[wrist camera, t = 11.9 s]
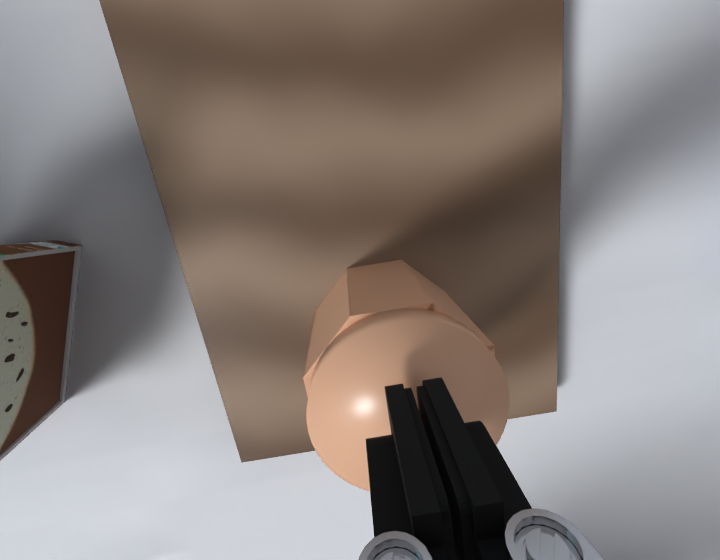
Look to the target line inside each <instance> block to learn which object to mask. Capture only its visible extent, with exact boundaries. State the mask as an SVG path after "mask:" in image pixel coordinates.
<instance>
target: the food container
mask: <svg viewBox="0 0 720 560" xmlns="http://www.w3.org/2000/svg"><path fill="white" fill-rule="evenodd" d="M81 250H82V245H77V244H72V243H67V242H62V241H41V242H24V243H13V244H2V245H0V460H2V459H3V458H4V457H5V456H6V455H7V454H8V453H9V452H10V451H11V450H13V449H14V448H15V447H16V446H17V445H18V444H19V443H20V442H21V441H22V440H24V439H25V438H26V437H27V436H28V435H29V434H30V433H31V432H32V431H33V430H34V429H36V428H37V427H38V426H39V425H40V424H41V423H42V422H43V421H44V420H45V419H47V418H48V417H49V416H50V415H51V414H52V413H53V412H54V411H55V410H56V409H58V408H59V407H60V406H61V405H62V404H63V403H64V402H65V397H66V387H67V378H68V369H69V360H70V351H71V342H72V333H73V323H74V314H75V305H76V296H77V287H78V278H79V269H80V259H81Z"/></svg>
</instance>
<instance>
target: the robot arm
mask: <svg viewBox="0 0 720 560" xmlns="http://www.w3.org/2000/svg"><path fill="white" fill-rule="evenodd" d="M422 385H423V386H417V387H416V390H417V399H418V407H419V410H418V407H417V404H416V401H415V398H414V395H413V392H412V389H411V387H410V388H404V385H403V384H396V385H390V386H385V394H386V401H387V408H388V415H389V422H390V428H391V435H386V436H380V437H373V438H367V439H366V450H367V461H368V472H369V483H370V494H371V505H372V516H373V526H374V537H375V538H373V539H372V540H371V541H370V542H369V543H368V544H367V545H366V546H365V548H364V549H363V551H362V553H361V555H360V556H359V560H604V559H603V558H602V557H601V556H600V555H599V553H598V552H597V551H596V550H595V549H594V547H593V546H592V545H591V544H590V543H589V542H588V540H587V539H586V538H585V537H584V536H583V534H582V533H581V532H580V531H579V530H578V529H577V528H576V527H575V526H574V525H572V524H571V523H570V522H569V521H567V520H566V519H564V518H562V517H561V516H559V515H557V514H555V513H552V512H549V511H547V510H541V509H532V508H531V506H530V504H529V502H528V501H527V499H526V497H525V495H524V494H523V492H522V490H521V488H520V487H519V485H518V483H517V481H516V480H515V478H514V476H513V474H512V473H511V471H510V469H509V467H508V466H507V464H506V462H505V460H504V459H503V457H502V455H501V453H500V452H499V450H498V448H497V446H496V445H495V443H494V441H493V439H492V438H491V436H490V434H489V432H488V431H487V429H486V427H485V426H484V424H483V423H482V422H481V421H480V420H479V421H473V422H467V423H464V421H463V419H462V417H461V415H460V413H459V411H458V409H457V407H456V405H455V403H454V401H453V399H452V397H451V395H450V393H449V391H448V389H447V387H446V385H445V383H444V381H443V379H442V378H441V377H440V378H434V379H428V380H423V381H422Z"/></svg>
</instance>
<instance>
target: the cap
mask: <svg viewBox="0 0 720 560" xmlns="http://www.w3.org/2000/svg"><path fill="white" fill-rule="evenodd" d="M494 347H495V346H494V344H493V343H492V342H491V341H490V340H489V339H488V338H487V337H486V336H485V335H484V333H483V332H482V331H481V330H480V329H479V328H478V327H477V326H476V325H475V324H474V323H473V322H472V320H471V319H470V318H469V317H468V316H467V315H466V314H465V313H464V312H463V311H462V310H461V308H460V307H459V306H458V305H457V304H456V303H455V302H454V301H453V300H452V299H451V298H450V296H449V295H448V294H447V293H446V292H445V291H444V290H442V289H441V288H440V287H438V286H437V285H436V284H434V283H433V282H431V281H430V280H429V279H427V278H426V277H425V276H423V275H422V274H420V273H419V272H418V271H416V270H415V269H414V268H412V267H411V266H409V265H408V264H407V263H405V262H404V261H403V260H396V261H390V262H384V263H378V264H371V265H365V266H359V267H353V268H347V269H346V270H345V272H344V273H343V274H342V276H341V277H340V279H339V280H338V281H337V283H336V284H335V285H334V287H333V288H332V289H331V291H330V292H329V293H328V295H327V296H326V297H325V299H324V300H323V302H322V303H321V304H320V306H319V307H318V308H317V310H316V311H315V316H314V321H313V326H312V332H311V337H310V342H309V348H308V353H307V358H306V363H305V369H304V374H303V379H304V384H305V388H306V392H307V397H308V402H307V409H306V421H307V427H308V433H309V436H310V439H311V442H312V444H313V446H314V448H315V450H316V452H317V454H318V455H319V457H320V458H321V460H322V461H323V462H324V463H325V464H326V465H327V467H328V468H329V469H330V470H331V471H333V472H334V473H335V474H336V475H338V476H339V477H340V478H342V479H343V480H345V481H347V482H348V483H350V484H352V485H354V486H356V487H359V488H361V489H364V490H367V491H370V483H369V472H368V461H367V450H366V439H367V438H373V437H380V436H386V435H391V428H390V422H389V415H388V408H387V401H386V394H385V386H390V385H396V384H403V385H404V388H410V387H411V389H412V392H413V395H414V398H415V401H416V404H417V407H418V399H417V390H416V387H417V386H423V385H422V381H423V380H428V379H434V378H440V377H441V378H442V379H443V381H444V383H445V385H446V387H447V389H448V391H449V393H450V395H451V397H452V399H453V401H454V403H455V405H456V407H457V409H458V411H459V413H460V415H461V417H462V419H463V421H464V423H467V422H473V421H479V420H480V421H481V422H482V423H483V424H484V426H485V427H486V429H487V431H488V432H489V434H490V436H491V438H492V439H493V441H494V443H495V445H497V443H498V441H499V439H500V437H501V435H502V433H503V431H504V428H505V425H506V422H507V419H508V413H509V402H510V397H509V388H508V384H507V380H506V377H505V374H504V372H503V370H502V367H501V365H500V364H499V362H498V361H497V359H496V358H495V348H494ZM418 410H419V407H418Z"/></svg>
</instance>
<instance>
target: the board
mask: <svg viewBox="0 0 720 560" xmlns="http://www.w3.org/2000/svg"><path fill="white" fill-rule="evenodd" d="M99 1H100V4H101V7H102V10H103V14H104V17H105V20H106V23H107V27H108V30H109V33H110V36H111V40H112V43H113V46H114V49H115V53H116V56H117V59H118V62H119V66H120V69H121V72H122V75H123V79H124V82H125V85H126V88H127V91H128V95H129V98H130V101H131V104H132V108H133V111H134V114H135V117H136V121H137V124H138V127H139V130H140V134H141V137H142V140H143V143H144V147H145V150H146V153H147V156H148V160H149V163H150V166H151V169H152V173H153V176H154V179H155V182H156V186H157V189H158V192H159V195H160V199H161V202H162V205H163V208H164V212H165V215H166V218H167V221H168V225H169V228H170V231H171V234H172V238H173V241H174V244H175V247H176V251H177V254H178V257H179V260H180V264H181V267H182V270H183V273H184V277H185V280H186V283H187V286H188V290H189V293H190V296H191V299H192V303H193V306H194V309H195V312H196V316H197V319H198V322H199V325H200V329H201V332H202V335H203V338H204V342H205V345H206V348H207V351H208V355H209V358H210V361H211V364H212V368H213V371H214V374H215V377H216V381H217V384H218V387H219V390H220V394H221V397H222V400H223V403H224V407H225V410H226V413H227V416H228V420H229V423H230V426H231V429H232V433H233V436H234V439H235V442H236V445H237V449H238V452H239V455H240V458H241V462H247V461H254V460H260V459H266V458H272V457H278V456H284V455H290V454H297V453H303V452H309V451H315V448H314V446H313V444H312V442H311V439H310V436H309V433H308V427H307V421H306V409H307V402H308V397H307V392H306V388H305V384H304V379H303V374H304V369H305V363H306V358H307V353H308V348H309V342H310V337H311V332H312V326H313V321H314V316H315V311H316V310H317V308H318V307H319V306H320V304H321V303H322V302H323V300H324V299H325V297H326V296H327V295H328V293H329V292H330V291H331V289H332V288H333V287H334V285H335V284H336V283H337V281H338V280H339V279H340V277H341V276H342V274H343V273H344V272H345V270H346V269H347V268H353V267H359V266H365V265H371V264H378V263H384V262H390V261H396V260H403V261H404V262H405V263H407V264H408V265H409V266H411V267H412V268H414V269H415V270H416V271H418V272H419V273H420V274H422V275H423V276H425V277H426V278H427V279H429V280H430V281H431V282H433V283H434V284H436V285H437V286H438V287H440V288H441V289H442V290H444V291H445V292H446V293H447V294H448V295H449V296H450V298H451V299H452V300H453V301H454V302H455V303H456V304H457V305H458V306H459V307H460V308H461V310H462V311H463V312H464V313H465V314H466V315H467V316H468V317H469V318H470V319H471V320H472V322H473V323H474V324H475V325H476V326H477V327H478V328H479V329H480V330H481V331H482V332H483V333H484V335H485V336H486V337H487V338H488V339H489V340H490V341H491V342H492V343H493V344H494V346H495V347H494V348H495V358H496V359H497V361H498V362H499V364H500V365H501V367H502V370H503V372H504V374H505V377H506V380H507V384H508V388H509V397H510V402H509V413H508V419H512V418H518V417H524V416H530V415H536V414H543V413H549V412H555V411H556V408H557V353H558V297H559V241H560V186H561V130H562V74H563V19H564V0H99Z"/></svg>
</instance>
